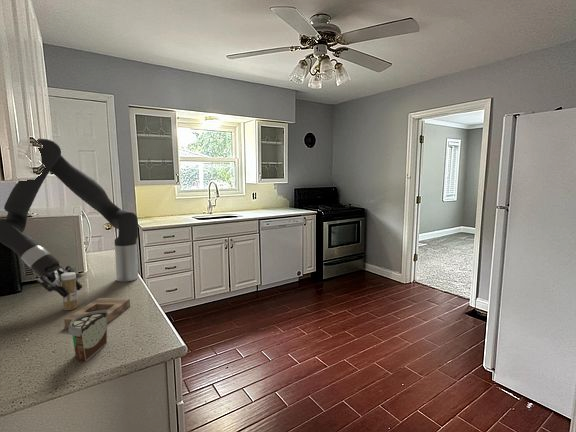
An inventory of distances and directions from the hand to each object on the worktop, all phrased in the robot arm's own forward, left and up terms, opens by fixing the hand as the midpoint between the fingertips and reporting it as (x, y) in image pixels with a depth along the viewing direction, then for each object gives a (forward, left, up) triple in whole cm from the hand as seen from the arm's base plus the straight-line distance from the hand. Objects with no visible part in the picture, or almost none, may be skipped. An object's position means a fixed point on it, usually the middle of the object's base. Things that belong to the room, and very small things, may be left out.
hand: (73, 291), depth 115 cm
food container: (+28, +23, -7) cm, 37 cm away
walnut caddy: (+6, +13, -6) cm, 16 cm away
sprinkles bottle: (0, -2, -7) cm, 7 cm away
